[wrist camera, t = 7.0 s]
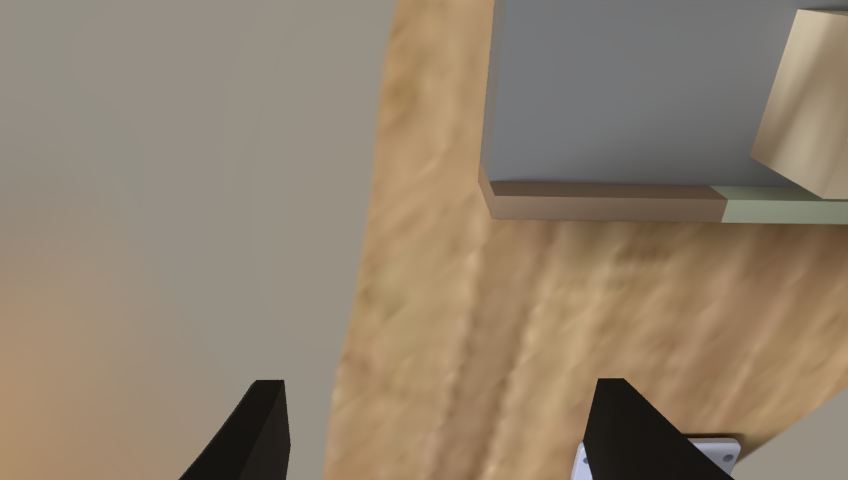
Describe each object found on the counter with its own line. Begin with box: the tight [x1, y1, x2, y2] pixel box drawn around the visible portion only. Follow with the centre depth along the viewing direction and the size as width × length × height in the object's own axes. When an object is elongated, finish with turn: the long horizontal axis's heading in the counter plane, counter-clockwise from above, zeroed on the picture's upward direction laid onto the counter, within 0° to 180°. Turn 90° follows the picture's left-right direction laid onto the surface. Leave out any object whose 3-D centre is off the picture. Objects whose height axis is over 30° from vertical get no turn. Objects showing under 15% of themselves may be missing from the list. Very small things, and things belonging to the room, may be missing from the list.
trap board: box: [478, 0, 848, 224], centre depth 18 cm, size 8×20×3 cm, turn 88°
